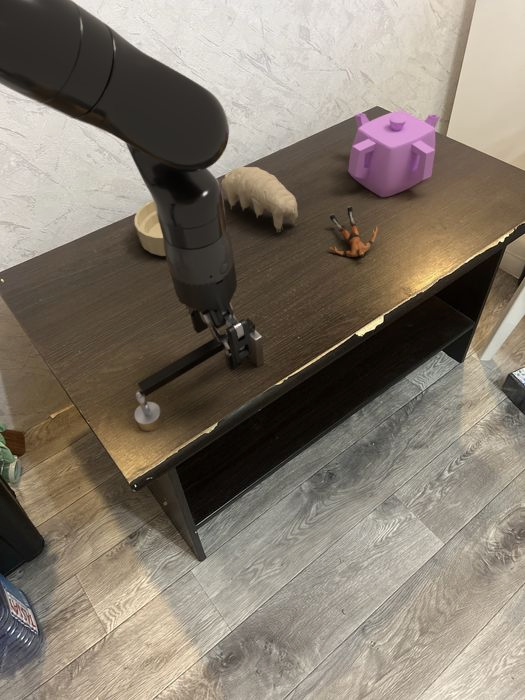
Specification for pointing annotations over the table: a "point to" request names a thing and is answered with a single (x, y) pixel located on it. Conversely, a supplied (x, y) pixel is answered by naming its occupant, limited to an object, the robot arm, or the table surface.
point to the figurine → (352, 238)
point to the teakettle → (392, 152)
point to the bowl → (149, 229)
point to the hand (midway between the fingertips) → (218, 347)
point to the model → (260, 193)
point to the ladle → (150, 412)
